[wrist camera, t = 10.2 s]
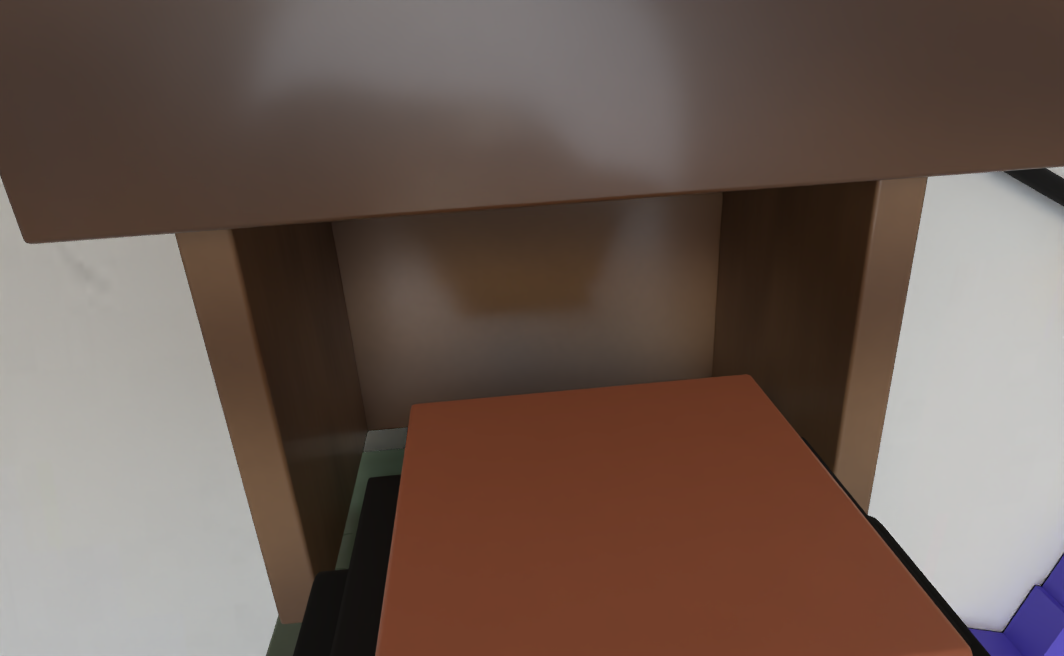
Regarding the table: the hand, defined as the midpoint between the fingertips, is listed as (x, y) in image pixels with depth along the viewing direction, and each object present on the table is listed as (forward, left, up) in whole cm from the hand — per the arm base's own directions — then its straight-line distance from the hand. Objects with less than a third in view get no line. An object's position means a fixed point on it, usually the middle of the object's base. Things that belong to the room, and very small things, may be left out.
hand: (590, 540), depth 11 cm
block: (0, 0, 0) cm, 0 cm away
